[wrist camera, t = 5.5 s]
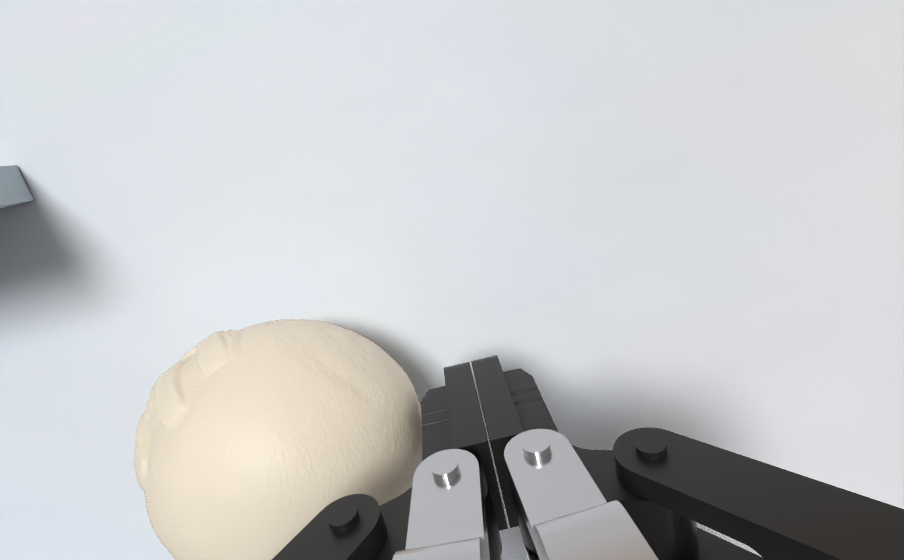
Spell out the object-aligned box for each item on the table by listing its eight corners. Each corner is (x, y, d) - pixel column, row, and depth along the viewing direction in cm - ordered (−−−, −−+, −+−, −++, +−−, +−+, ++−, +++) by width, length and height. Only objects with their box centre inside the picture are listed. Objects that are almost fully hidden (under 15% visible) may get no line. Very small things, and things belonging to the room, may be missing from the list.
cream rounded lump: (253, 242, 15) (125, 327, 8) (460, 350, 16) (485, 492, 10) (169, 414, 16) (4, 599, 10) (364, 498, 18) (332, 707, 11)
